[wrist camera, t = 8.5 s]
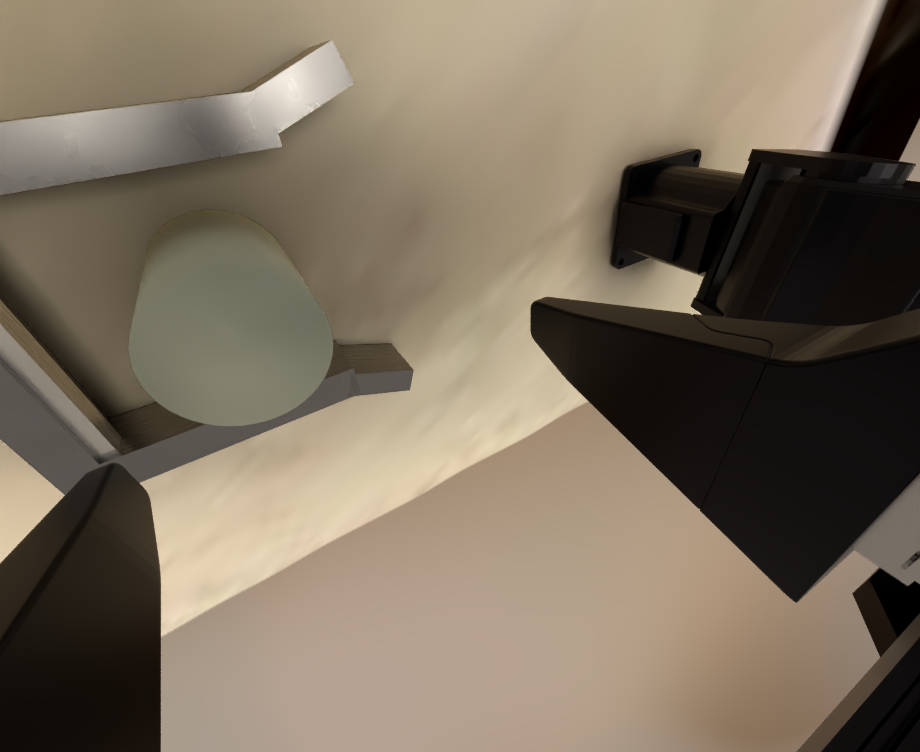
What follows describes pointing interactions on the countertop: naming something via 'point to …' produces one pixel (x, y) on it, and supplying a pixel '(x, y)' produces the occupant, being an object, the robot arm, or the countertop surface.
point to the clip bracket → (132, 150)
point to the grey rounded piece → (226, 323)
